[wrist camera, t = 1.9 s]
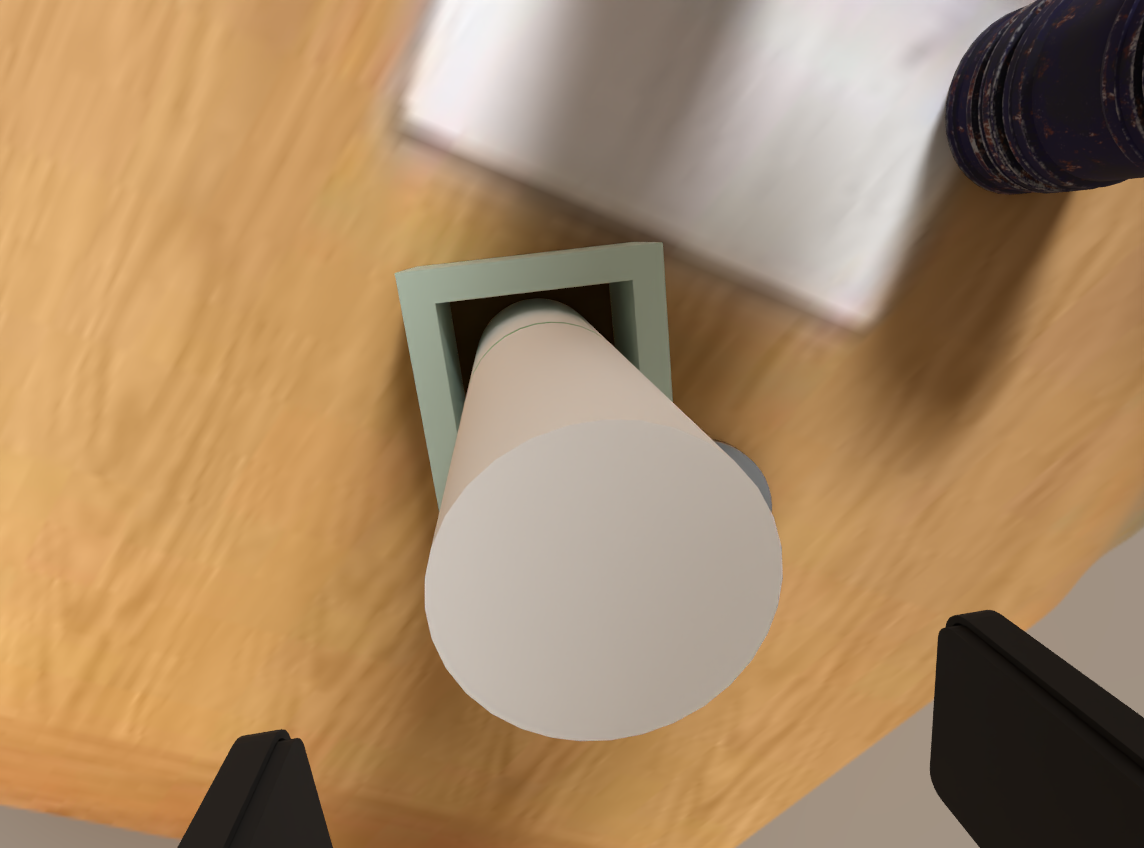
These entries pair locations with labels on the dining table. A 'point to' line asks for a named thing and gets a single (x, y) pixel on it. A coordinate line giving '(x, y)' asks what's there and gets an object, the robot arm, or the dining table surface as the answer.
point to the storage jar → (1052, 98)
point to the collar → (435, 286)
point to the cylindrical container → (591, 541)
